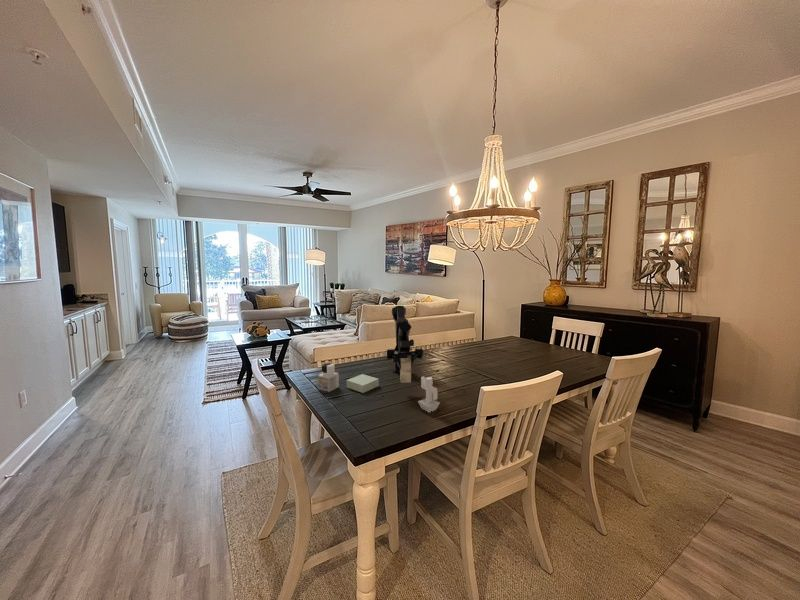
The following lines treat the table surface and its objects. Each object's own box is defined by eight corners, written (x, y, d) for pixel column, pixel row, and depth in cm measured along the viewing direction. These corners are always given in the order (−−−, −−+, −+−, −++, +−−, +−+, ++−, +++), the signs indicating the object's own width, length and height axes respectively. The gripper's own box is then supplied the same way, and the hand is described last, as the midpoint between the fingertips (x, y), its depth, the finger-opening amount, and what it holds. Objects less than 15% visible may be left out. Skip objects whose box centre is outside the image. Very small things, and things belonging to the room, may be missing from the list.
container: (318, 389, 174) (317, 365, 172) (327, 384, 181) (327, 361, 179) (329, 392, 170) (329, 367, 169) (339, 387, 177) (338, 363, 175)
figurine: (430, 415, 145) (430, 382, 143) (415, 408, 153) (416, 376, 151) (441, 411, 150) (442, 379, 148) (427, 404, 157) (428, 373, 155)
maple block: (400, 378, 171) (400, 358, 170) (409, 378, 171) (409, 358, 170) (401, 382, 166) (401, 361, 165) (410, 382, 166) (411, 361, 165)
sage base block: (362, 380, 186) (362, 374, 185) (378, 386, 179) (378, 378, 178) (346, 387, 176) (346, 380, 176) (363, 393, 169) (363, 385, 169)
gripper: (386, 334, 169) (387, 361, 159) (423, 333, 170) (426, 361, 161) (385, 345, 178) (386, 372, 168) (420, 344, 179) (423, 371, 170)
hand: (405, 368), depth 166 cm, fingers closed on maple block, 5 cm apart
